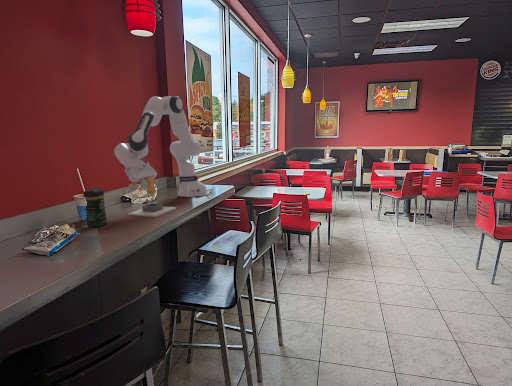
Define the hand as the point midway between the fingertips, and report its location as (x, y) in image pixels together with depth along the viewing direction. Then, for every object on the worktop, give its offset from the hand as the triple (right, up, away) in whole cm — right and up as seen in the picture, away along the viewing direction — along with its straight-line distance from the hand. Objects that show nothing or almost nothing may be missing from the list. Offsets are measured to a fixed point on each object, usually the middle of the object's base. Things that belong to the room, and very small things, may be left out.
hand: (151, 184), depth 190 cm
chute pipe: (0, -5, +1) cm, 5 cm away
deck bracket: (0, -16, +3) cm, 16 cm away
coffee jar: (-20, -21, -23) cm, 37 cm away
